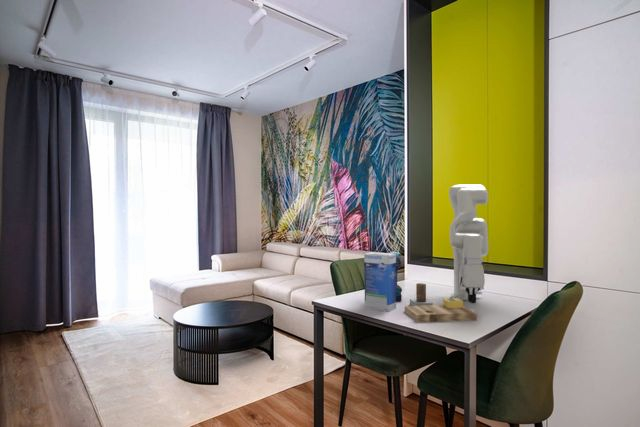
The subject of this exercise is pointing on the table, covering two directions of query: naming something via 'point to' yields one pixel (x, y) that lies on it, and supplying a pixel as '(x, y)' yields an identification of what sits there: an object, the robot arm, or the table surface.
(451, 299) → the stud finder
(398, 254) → the impact wrench
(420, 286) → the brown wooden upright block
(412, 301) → the awl holder block
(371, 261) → the string lights box
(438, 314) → the wooden pallet
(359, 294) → the table surface
